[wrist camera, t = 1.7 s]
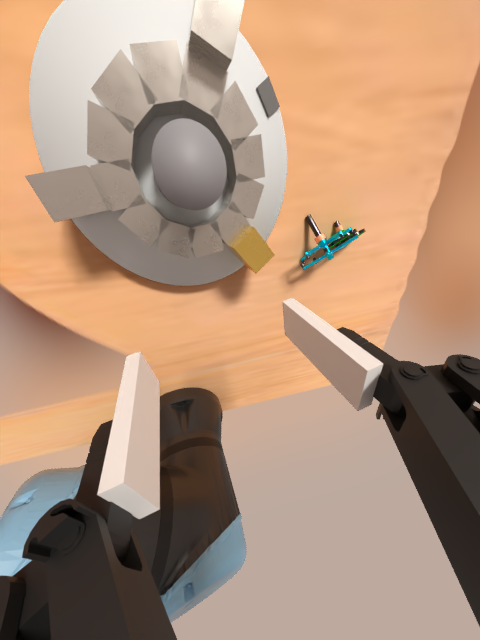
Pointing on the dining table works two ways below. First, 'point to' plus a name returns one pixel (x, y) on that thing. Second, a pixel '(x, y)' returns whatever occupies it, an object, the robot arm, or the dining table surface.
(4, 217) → the dining table surface
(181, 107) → the grey segmented ring
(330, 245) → the stick construction toy
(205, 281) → the white shallow round piece
